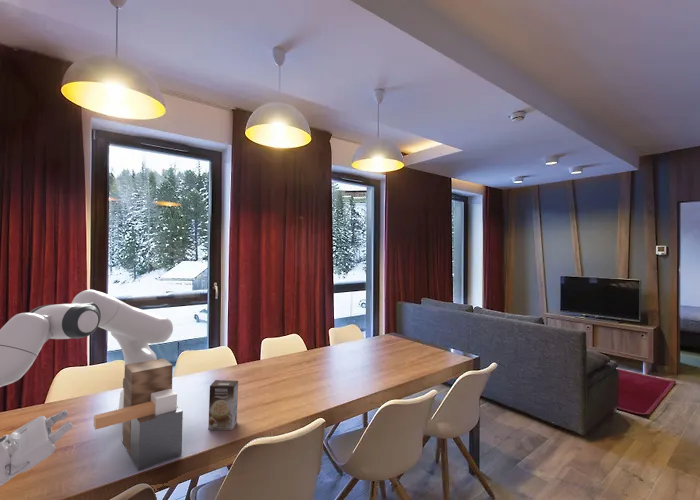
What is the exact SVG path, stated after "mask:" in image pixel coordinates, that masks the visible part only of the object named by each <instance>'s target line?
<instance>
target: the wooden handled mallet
mask: <svg viewBox="0 0 700 500" xmlns="http://www.w3.org/2000/svg"><path fill="white" fill-rule="evenodd" d="M177 402H178V394H177V392H175V390H173V388H172V389H168V390H163V391H159V392H155V393H151V401H150V402H146V403H142V404H138V405H134V406H130V407H126V408H122V409H118V410H116V409H114V410H110V411H106V412H103V413H99V414H94V415H93V427H94V430H95V431H96V430H101V429H103V428H107V427H110V426H114V425H118V424H123V422H126V421H130V420H133V419H137V418H141V417H144V416H148V415H152V414H155V415H159V414H163V413H166V412H170V411H174V410H177V406H178V405H177V404H178V403H177Z"/></svg>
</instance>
